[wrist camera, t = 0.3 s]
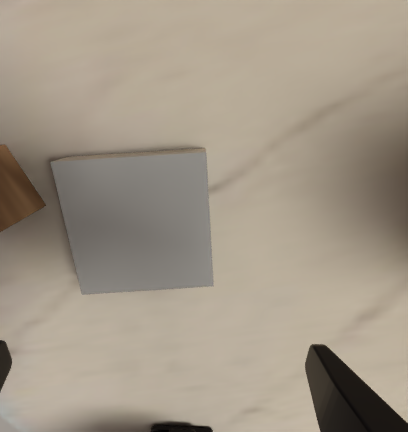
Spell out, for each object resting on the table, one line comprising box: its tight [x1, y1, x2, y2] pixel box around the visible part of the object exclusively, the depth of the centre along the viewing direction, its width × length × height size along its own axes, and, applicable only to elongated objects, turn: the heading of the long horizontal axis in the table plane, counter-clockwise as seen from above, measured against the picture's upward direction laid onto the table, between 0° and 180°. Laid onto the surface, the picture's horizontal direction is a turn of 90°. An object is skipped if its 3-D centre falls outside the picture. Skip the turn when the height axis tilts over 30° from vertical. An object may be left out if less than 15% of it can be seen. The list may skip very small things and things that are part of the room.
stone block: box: [50, 148, 214, 295], centre depth 21 cm, size 10×10×3 cm
